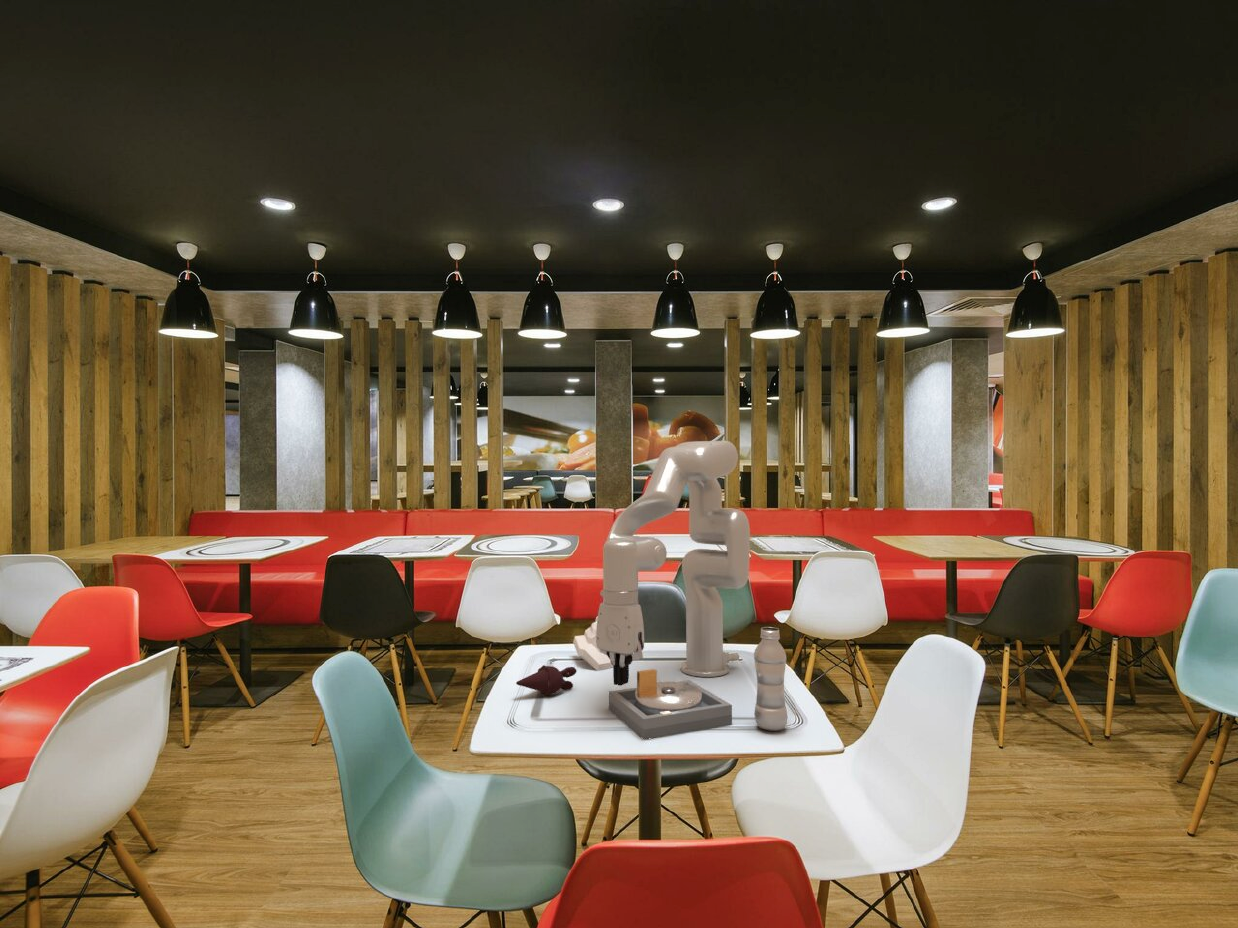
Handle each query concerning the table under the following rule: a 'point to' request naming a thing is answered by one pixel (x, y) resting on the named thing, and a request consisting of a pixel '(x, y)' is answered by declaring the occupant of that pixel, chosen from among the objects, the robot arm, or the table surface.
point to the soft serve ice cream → (591, 649)
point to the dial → (664, 694)
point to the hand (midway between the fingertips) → (621, 683)
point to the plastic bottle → (770, 681)
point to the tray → (670, 714)
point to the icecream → (548, 680)
